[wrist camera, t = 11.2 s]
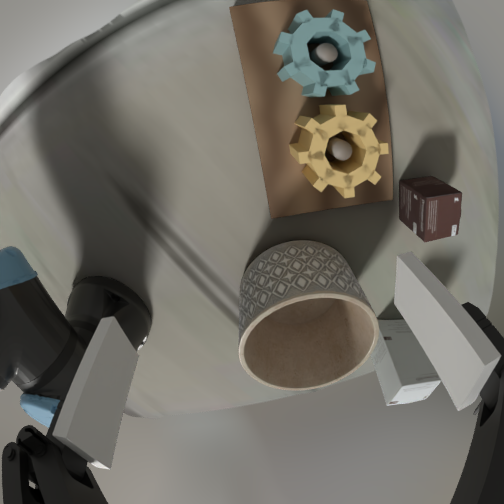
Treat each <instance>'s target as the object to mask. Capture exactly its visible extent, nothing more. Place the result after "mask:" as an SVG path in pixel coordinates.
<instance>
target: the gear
mask: <svg viewBox="0 0 504 504" xmlns="http://www.w3.org/2000/svg"><path fill="white" fill-rule="evenodd" d="M343 16H344V13H342V12H340V11H337V10H334V9H333V10H332V11H331V12H330V13H329V14H328V15H327V16H326V17H325V18H313V17H312V16H311V14H310V13H309V12H308V11H307V10H304V11H302V12H300V13H297V14H296V16H295V18H294V19H293V21H292V23H291V24H290V26H289V28H288V30H289V31H290V33H291V34H289V33H285V32H281V33H280V35H279V37H278V39H277V41H276V43H275V46H274V50H273V53H274V54H278V55H282V57H283V62H284V67H283V68H282V69H281V70H280V71H279V72H278V73H277V75H278V76H279V78H280V79H281V81H282V82H283V81H285V80H287V79H289V78H292V79H293V80H295V81H296V82H298V83H299V84H300V85H302V86H303V90H302V94H301V95H303V96H306V97H310V98H313V97H323V96H325V94H326V89H327V88H328V89H329V91H330V93H331V94H332V96H337V95H351V94H353V93H355V92H357V91H359V88H358V86H357V84H356V83H355V81H354V80H355V79H356V78H357V77H358V75H362V74H367V73H373V72H374V69H375V64H376V62H373V61H371V60H369V59H366V55H365V50H364V45H363V42H366V41H368V40H370V39H371V38H370V36H369V35H368V33H367V32H366V30H363V31H360V32H358V33H356V32H355V31H354V30H353V29H351V28H350V27H349V26H348V25H346V24H345V23H344V22H342V21H343ZM313 43H319V44H323V43H329V44H332V45H333V46H334V47H335V48H336V49H337V52H338V55H337V58H336V59H335V60H334V61H333V67H332V68H331V69H330V70H329V71H324V70H323V69H322V68H320V67H319V66H318V65H316V64H315V63H314V62H312V61H311V60H310V57H309V52H308V48H307V44H313Z"/></svg>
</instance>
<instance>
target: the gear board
mask: <svg viewBox="0 0 504 504" xmlns="http://www.w3.org/2000/svg"><path fill="white" fill-rule="evenodd" d="M229 8H230V14H231V18H232V22H233V27H234V31H235V36H236V41H237V45H238V50H239V54H240V59H241V64H242V68H243V73H244V78H245V83H246V88H247V93H248V98H249V103H250V108H251V113H252V118H253V123H254V128H255V133H256V138H257V143H258V149H259V154H260V159H261V165H262V170H263V176H264V181H265V187H266V192H267V198H268V204H269V209H270V215H271V219H273V218H279V217H284V216H290V215H296V214H302V213H308V212H315V211H321V210H327V209H333V208H340V207H346V206H353V205H360V204H366V203H373V202H380V201H387V200H393V171H392V150H391V136H390V124H389V114H388V106H387V98H386V90H385V83H384V77H383V71H382V65H381V60H380V54H379V49H378V44H377V40H376V35H375V31H374V27H373V22H372V19H371V15H370V11H369V7H368V4H367V1H364V0H279V1H269V2H260V3H252V4H245V5H239V6H233V7H229ZM333 9H334V10H337V11H340V12H342V13H344V16H343V21H342V22H344V23H345V24H346V25H348V26H349V27H350V28H351V29H353V30H354V31H355V32H356V33H358V32H360V31H363V30H366V32H367V33H368V35H369V36H370V38H371V39H370V40H368V41H366V42H363V45H364V50H365V55H366V59H369V60H371V61H373V62H376V64H375V69H374V72H373V73H367V74H362V75H358V77H357V78H356V79H355V80H354V81H355V83H356V84H357V86H358V88H359V91H357V92H355V93H353V94H351V95H337V96H332V94H331V93H330V91H329V89H328V88H327V89H326V94H325V96H323V97H313V98H310V97H306V96H303V95H301V94H302V90H303V86H302V85H300V84H299V83H298V82H296V81H295V80H293V79H292V78H289V79H287V80H285V81H283V82H282V81H281V79H280V78H279V76H278V75H277V73H278V72H279V71H280V70H281V69H282V68H283V67H284V62H283V57H282V55H278V54H274V53H273V50H274V46H275V43H276V41H277V39H278V37H279V35H280V33H281V32H285V33H289V34H291V33H290V31H289V30H288V28H289V26H290V24H291V23H292V21H293V19H294V18H295V16H296V14H297V13H300V12H302V11H304V10H307V11H308V12H309V13H310V14H311V16H312V17H313V18H325V17H326V16H327V15H328V14H329V13H330V12H331V11H332V10H333ZM307 48H308V52H309V57H310V60H311V61H312V62H314V63H315V64H316V65H318V66H319V67H320V68H322V69H323V70H324V71H329V70H330V69H331V68H332V67H333V61H334V60H335V59H336V58H337V55H338V52H337V49H336V48H335V47H334V46H333V45H332V44H329V43H323V44H319V43H313V44H307ZM325 104H340V105H346V111H347V112H348V111H355V112H364V113H370V114H371V115H372V116H373V117H374V118H375V119H376V120H377V122H376V123H375V124H374V126H373V127H372V128H371V129H372V131H373V133H374V135H375V137H376V139H377V140H380V141H383V142H386V143H388V151H389V154H380V155H379V158H378V162H377V165H376V168H375V171H376V172H377V173H378V174H379V175H380V176H381V178H380V179H379V181H378V182H377V183H376V184H375V185H374V184H373V183H372V182H370V181H369V180H365V181H364V182H362V183H360V184H358V185H357V186H355V187H354V192H355V197H350V198H344V197H343V196H342V195H341V194H340V193H339V192H338V191H337V190H336V189H335V188H334V187H333V186H332V185H329V184H328V185H327V186H326V187H325V189H324V190H323V191H322V192H320V191H319V190H318V189H316V188H315V187H314V186H312V184H311V183H310V182H309V180H308V179H307V178H306V177H305V175H304V174H303V173H302V171H303V169H304V168H305V167H306V165H307V164H306V163H304V164H299V163H298V161H297V160H296V159H295V158H294V157H293V156H292V155H291V154H290V147H289V144H294V143H298V141H299V137H300V133H301V129H302V128H300V127H299V126H297V125H296V124H295V121H296V120H297V119H298V117H299V116H305V117H310V118H314V117H316V116H318V115H319V114H320V109H319V105H325ZM351 154H352V147H351V145H350V144H349V143H348V142H347V141H346V139H345V137H344V136H343V134H342V132H339V133H338V134H336V135H334V136H332V137H330V138H329V140H328V143H327V147H326V151H325V154H324V155H325V157H326V159H327V161H330V162H332V161H334V160H335V159H339V160H347V159H348V158H350V156H351Z"/></svg>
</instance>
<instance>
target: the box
mask: <svg viewBox="0 0 504 504" xmlns="http://www.w3.org/2000/svg"><path fill="white" fill-rule="evenodd" d="M461 200H462V192H460V191H458V190H457V189H455V188H453V187H451V186H450V185H448V184H446V183H444V182H442V181H441V180H439V179H437V178H435V177H433V176H428V177H422V178H414V179H407V180H400V182H399V219H400V220H401V221H402V222H403V223H404V224H405V225H406V226H407V227H409V228H410V229H411V230H412V231H413V232H414V233H415V234H416V235H417V236H418V237H419V238H421V239H422V240H423V241H424V242H429V241H433V240H437V239H441V238H445V237H450V236H454V235H457V234H458V230H459V221H460V217H461Z"/></svg>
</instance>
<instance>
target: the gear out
mask: <svg viewBox="0 0 504 504" xmlns="http://www.w3.org/2000/svg"><path fill="white" fill-rule="evenodd" d="M319 109H320V114H319V115H318V116H316V117H314V118H310V117H305V116H299V117H298V119H297V120H296V121H295V124H296V125H297V126H299V127H300V128H302V129H301V133H300V137H299V141H298V143H294V144H289V147H290V154H291V155H292V156H293V157H294V158H295V159H296V160H297V161H298V163H299V164H304V163H306V164H307V165H306V167H305V168H304V169H303V171H302V173H303V174H304V175H305V177H306V178H307V179H308V180H309V182H310V183H311V184H312V186H314V187H315V188H316V189H318V190H319V191H320V192H322V191H323V190H324V189H325V187H326V186H327V185H328V184H329V185H332V186H333V187H334V188H335V189H336V190H337V191H338V192H339V193H340V194H341V195H342V196H343V197H344V198H350V197H355V192H354V187H355V186H357V185H358V184H360V183H362V182H364V181H365V180H369V181H370V182H372V183H373V184H374V185H375V184H376V183H377V182H378V181H379V179H380V178H381V176H380V175H379V174H378V173H377V172H376V171H375V168H376V165H377V162H378V158H379V155H380V154H389V151H388V143H386V142H383V141H380V140H377V139H376V137H375V135H374V133H373V131H372V129H371V128H372V127H373V126H374V124H375V123H376V122H377V120H376V119H375V118H374V117H373V116H372V115H371V114H370V113H364V112H355V111H348V112H347V111H346V105H340V104H325V105H319ZM339 132H342V134H343V136H344V137H345V139H346V141H347V142H348V143H349V144H350V145H351V147H352V154H351V156H350V158H348V159H347V160H339V159H335V160H334V161H332V162H330V161H327V159H326V157H325V155H324V154H325V151H326V147H327V143H328V140H329V138H330V137H332V136H334V135H336V134H338V133H339Z"/></svg>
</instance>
